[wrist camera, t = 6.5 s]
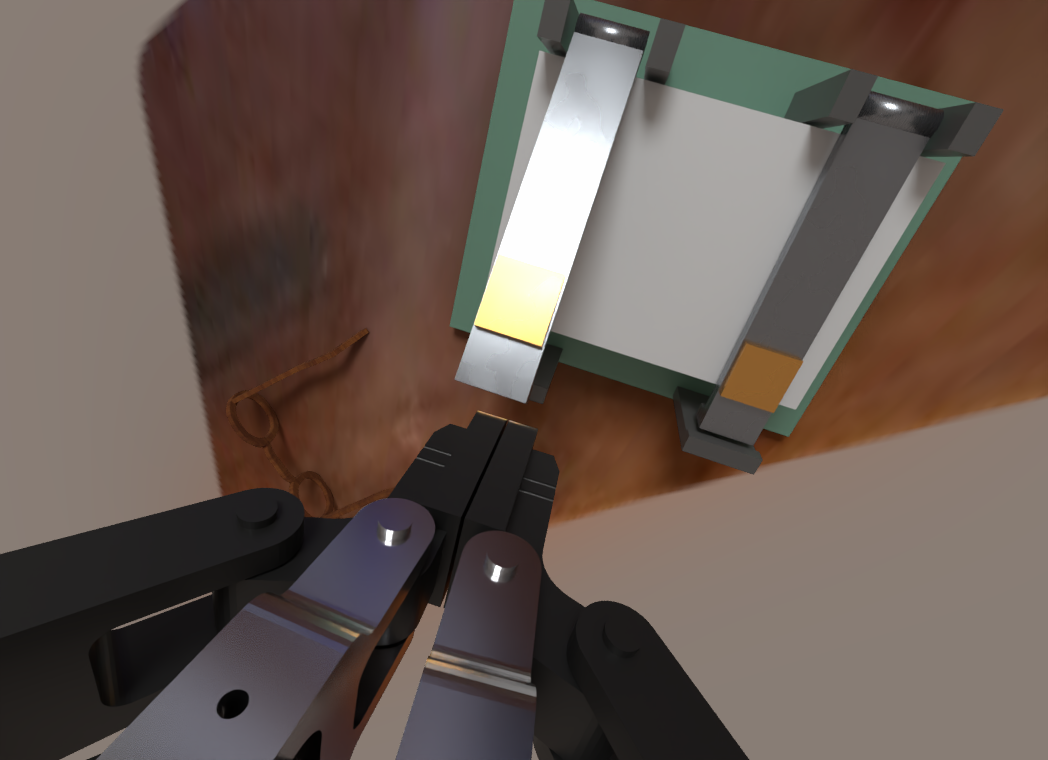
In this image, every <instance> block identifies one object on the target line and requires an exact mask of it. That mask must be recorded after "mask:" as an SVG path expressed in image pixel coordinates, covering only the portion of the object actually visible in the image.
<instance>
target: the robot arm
mask: <svg viewBox="0 0 1048 760" xmlns="http://www.w3.org/2000/svg"><path fill="white" fill-rule="evenodd" d="M506 424H507V419H503V418H500V417H497V416H494V415H490V414H487V413H484V412H481V411H477V413H476V414H475V416H474V417H473V419H472V421H471V423H470V424H469V426H468V428H467V429H465V428H462V427H459V426H456V425H453V424H449V425H447V426H445V427H443V428H441V429H439V430H438V431H436V432H434V433H433V435H432V436H431V437H430V439H429V440H428V442H427V443H426V444H425V447H424V448H423V449H422V450H421V451H420V453H419V454H418V456H417V459H415V460H414V461H413V463H412V464H411V466H410V467H409V468H408V470H407V471H406V473H405V474H404V475H403V477H402V478H401V480H400V481H399V482H398V484H397V485H396V487H395V488H394V489H393V491H392V492H391V494H390V495H389V497H388V498H386V499H381V500H377V501H374V502H372V503H370V504H368V505H366V506H365V507H363V508H362V509H361V510H360V511H359V512H358V513H357V514H356V515H355V516H354V517H353V518H345V519H332V518H315V517H304V515H305V513H304V507H303V504H302V503H301V501H300V500H299V499H298V498H297V497H296V496H294V495H293V494H291V493H289V492H286V491H284V490H280V489H274V488H257V489H250V490H245V491H242V492H238V493H234V494H230V495H226V496H222V497H219V498H215V499H211V500H207V501H203V502H199V503H196V504H192V505H188V506H184V507H180V508H176V509H173V510H169V511H165V512H161V513H157V514H153V515H149V516H146V517H142V518H138V519H134V520H130V521H126V522H122V523H119V524H115V525H111V526H108V527H103V528H99V529H96V530H92V531H88V532H84V533H80V534H76V535H73V536H69V537H65V538H61V539H57V540H53V541H50V542H46V543H42V544H38V545H34V546H30V547H27V548H23V549H19V550H15V551H12V552H7V553H4V554H0V760H59V759H62V758H64V757H66V756H68V755H70V754H72V753H74V752H76V751H78V750H80V749H82V748H84V747H87V746H88V745H91V744H93V743H95V742H97V741H99V740H101V739H103V738H105V737H107V736H109V735H112V734H114V733H116V732H118V731H120V730H122V729H124V728H126V727H127V728H126V729H125V730H124V731H123V732H122V733H121V734H120V735H119V737H118V738H116V739H115V741H114V742H113V743H112V744H111V745H110V746H109V747H108V748H107V749H106V750H105V751H104V752H103V753H102V754H99V755H97V756H94V757H92V758H90V759H87V760H350V758H351V756H352V753H353V750H354V748H355V746H356V744H357V742H358V740H359V738H360V736H361V734H362V732H363V730H364V728H365V726H366V725H367V723H368V721H369V719H370V717H371V715H372V714H373V712H374V710H375V708H376V706H377V704H378V702H379V701H380V699H381V697H382V695H383V693H384V691H385V689H386V688H387V686H388V684H389V682H390V680H391V678H392V676H393V675H394V673H395V671H396V669H397V667H398V665H399V664H400V662H401V660H402V658H403V656H404V654H405V652H406V650H407V649H408V647H409V645H410V643H411V641H412V638H413V636H414V631H415V629H416V627H417V625H418V624H419V622H420V619H421V617H422V615H423V613H424V610H425V608H426V606H427V604H428V603H429V604H432V605H435V606H438V607H440V606H441V604H442V601H443V599H444V597H445V594H446V592H447V595H446V600H445V604H444V608H445V609H444V613H443V616H442V619H441V622H440V626H439V629H438V632H437V635H436V638H435V642H434V645H433V648H432V651H431V654H430V656H428V659H427V661H426V664H425V667H424V670H423V673H422V677H421V679H420V683H419V686H418V689H417V692H416V695H415V698H414V702H413V705H412V708H411V711H410V714H409V718H408V721H407V724H406V727H405V731H404V733H403V737H402V740H401V743H400V746H399V749H398V753H397V756H396V759H395V760H531V758H532V747H533V743H534V748H535V750H536V753H537V756H538V758H539V760H749V759H748V757H747V756H746V755H745V753H744V752H743V751H742V749H741V748H740V746H739V745H738V744H737V742H736V741H735V740H734V738H733V737H732V736H731V734H730V733H729V731H728V730H727V729H726V728H725V726H724V724H723V723H722V722H721V720H720V719H719V718H718V716H717V715H716V713H715V712H714V711H713V710H712V708H711V707H710V705H709V704H708V703H707V701H706V700H705V699H704V697H703V696H702V694H701V693H700V692H699V690H698V689H697V687H696V686H695V685H694V683H693V682H692V681H691V679H690V678H689V677H688V675H687V674H686V672H685V671H684V670H683V668H682V667H681V665H680V664H679V663H678V661H677V660H676V659H675V657H674V656H673V655H672V653H671V652H670V650H669V649H668V648H667V646H666V645H665V644H664V642H663V641H662V639H661V638H660V637H659V636H658V634H657V633H656V631H655V630H654V628H653V627H652V626H651V625H650V624H649V622H648V621H647V620H646V619H645V618H644V617H643V616H641V615H640V614H639V613H638V612H636V611H634V610H633V609H631V608H630V607H628V606H625V605H623V604H620V603H617V602H612V601H599V602H594V603H592V604H590V605H588V606H587V607H584V606H582V605H581V604H579V603H578V602H576V601H575V600H573V599H572V598H570V597H569V596H567V595H566V594H565V593H563V592H562V591H561V590H560V589H559V588H558V587H556V585H555V584H554V583H553V582H552V581H551V579H550V578H549V576H548V574H547V572H546V570H545V568H544V564H543V559H542V554H543V547H544V542H545V537H546V533H547V528H548V523H549V519H550V514H551V509H552V504H553V499H554V495H555V489H556V485H557V480H558V476H559V469H558V467H557V464H556V461H555V459H554V456H552V455H549V454H546V453H543V452H539V451H536V450H533V449H532V448H533V445H534V442H535V438H536V435H537V431H538V429H536V428H533V427H530V426H526V425H523V424H520V423H517V422H514V421H510V420H509V421H508V424H507V426H506ZM447 589H448V591H447ZM210 592H212V595H209V596H207V597H204V598H201V599H198V600H196V601H193V602H190V603H188V604H185V605H183V606H180V607H177V608H174V609H172V610H169V611H166V612H164V613H161V614H158V615H156V616H153V617H151V618H148V619H145V620H142V621H139V622H137V623H134V624H131V625H129V626H126V627H123V628H120V629H116V630H112V629H114V628H116V627H118V626H120V625H123V624H126V623H128V622H131V621H134V620H137V619H139V618H142V617H145V616H147V615H150V614H152V613H156V612H158V611H161V610H164V609H166V608H169V607H172V606H175V605H177V604H180V603H183V602H185V601H188V600H191V599H193V598H196V597H199V596H201V595H204V594H207V593H210Z"/></svg>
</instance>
